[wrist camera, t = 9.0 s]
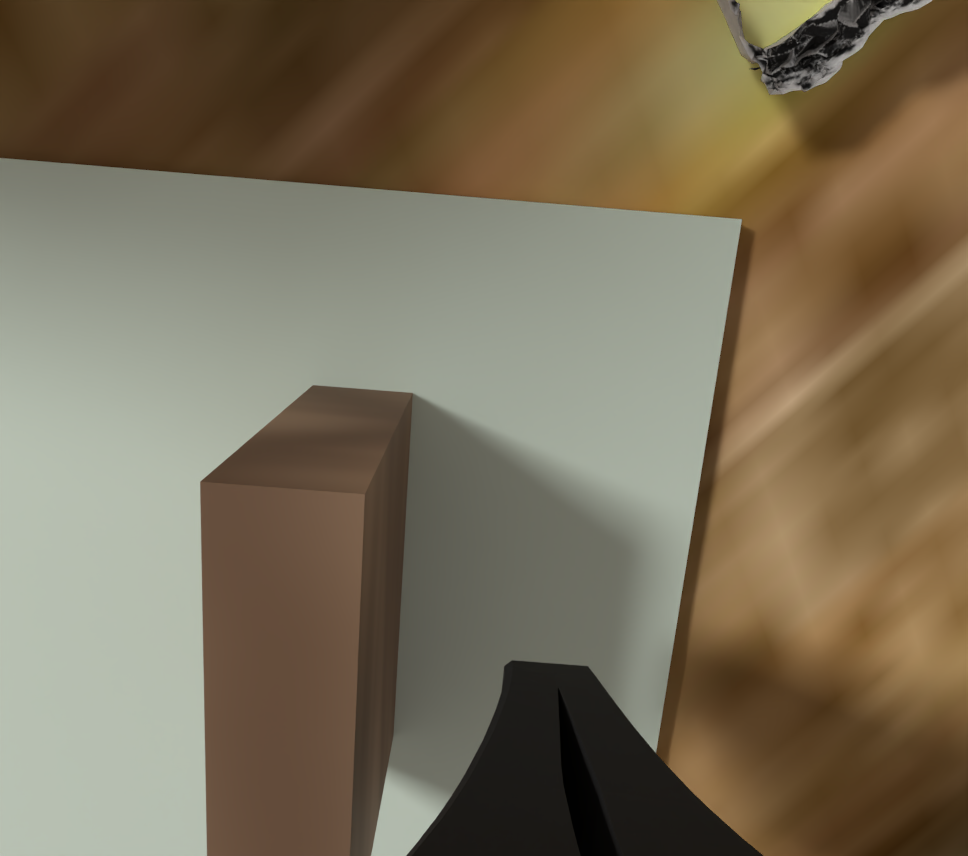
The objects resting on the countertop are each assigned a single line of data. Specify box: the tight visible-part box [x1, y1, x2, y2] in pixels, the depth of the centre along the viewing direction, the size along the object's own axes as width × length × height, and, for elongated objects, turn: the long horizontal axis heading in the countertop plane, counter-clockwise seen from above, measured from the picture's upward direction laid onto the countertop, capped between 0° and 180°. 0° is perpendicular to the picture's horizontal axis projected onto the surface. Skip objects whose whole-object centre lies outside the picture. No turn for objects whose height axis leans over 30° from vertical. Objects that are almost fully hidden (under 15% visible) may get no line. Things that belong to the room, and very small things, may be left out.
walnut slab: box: [200, 385, 413, 856], centre depth 13 cm, size 2×8×6 cm, turn 175°
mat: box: [0, 158, 742, 856], centre depth 16 cm, size 18×18×1 cm
